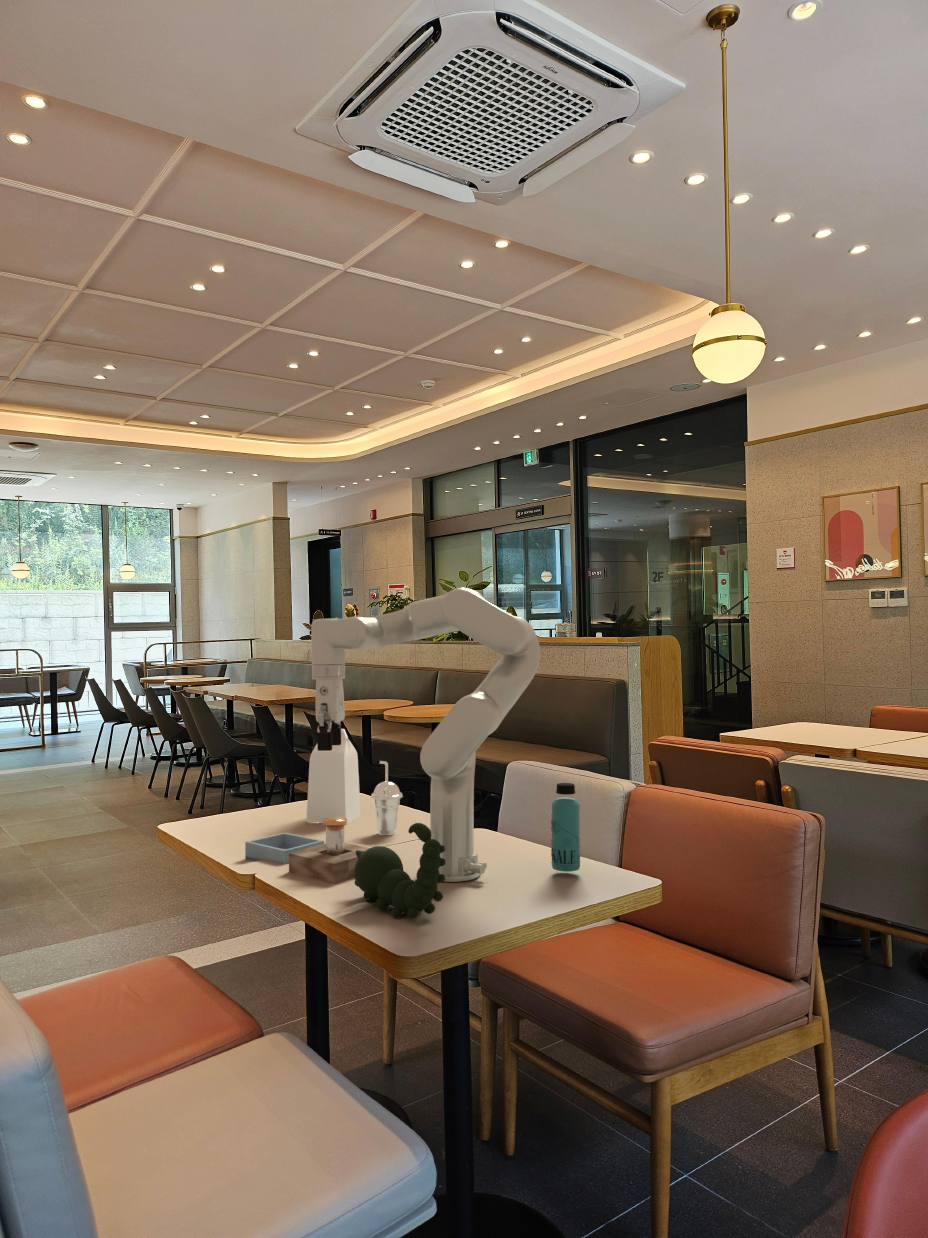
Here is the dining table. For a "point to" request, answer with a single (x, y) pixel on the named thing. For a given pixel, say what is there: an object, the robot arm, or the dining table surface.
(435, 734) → the robot arm
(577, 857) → the beverage bottle
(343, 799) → the milk
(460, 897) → the dining table surface
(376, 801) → the cup with straw
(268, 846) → the tray
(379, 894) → the toy figurine
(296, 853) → the square wooden block
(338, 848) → the copper capped shaker
